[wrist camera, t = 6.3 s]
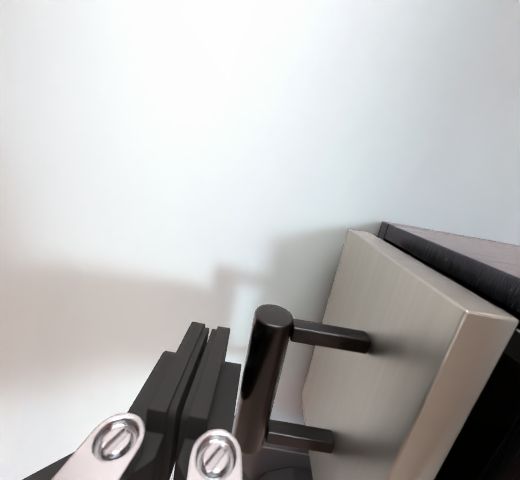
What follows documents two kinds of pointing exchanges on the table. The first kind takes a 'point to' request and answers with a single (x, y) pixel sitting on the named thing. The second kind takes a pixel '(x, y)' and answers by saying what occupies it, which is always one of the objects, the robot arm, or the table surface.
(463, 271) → the cabinet
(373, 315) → the drawer
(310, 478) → the control block
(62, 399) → the table surface
